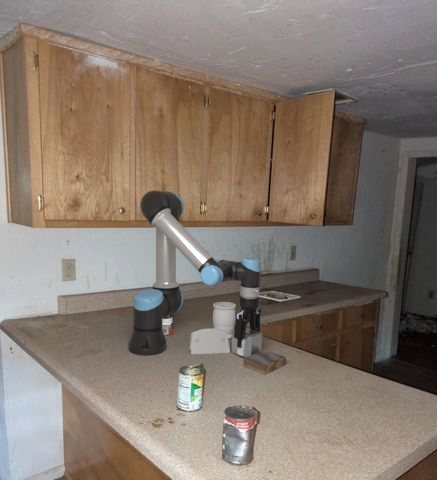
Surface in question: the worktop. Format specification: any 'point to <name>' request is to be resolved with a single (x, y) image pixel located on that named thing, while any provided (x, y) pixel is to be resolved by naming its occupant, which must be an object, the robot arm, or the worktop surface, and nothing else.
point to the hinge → (209, 341)
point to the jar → (224, 317)
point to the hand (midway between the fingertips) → (246, 352)
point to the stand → (264, 361)
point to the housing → (249, 342)
